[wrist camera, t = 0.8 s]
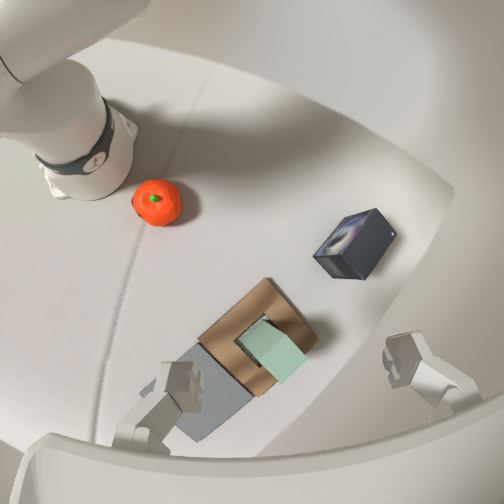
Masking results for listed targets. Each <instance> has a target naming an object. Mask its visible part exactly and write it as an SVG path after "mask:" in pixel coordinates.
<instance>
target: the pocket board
mask: <svg viewBox="0 0 504 504" xmlns="http://www.w3.org/2000/svg"><path fill="white" fill-rule="evenodd" d="M263 313H264V314H265V315H266V316H267V317H268V318H269V319H270V320H271V322H272V323H273V324H274V325H275V326H276V327H277V328H278V329H279V330H280V331H281V332H282V333H284V334H286V335H287V336H288V337H289V338H290V340H291V341H292V342H293V343H294V344H295V345H296V346H297V347H298V348H299V349H300V350H301V352H302V353H303V354H305V353H306V352H307V351H308V350H309V349H310V348H311V347H312V346H313V345H314V344H315V343H316V342H317V341H318V340H319V339H318V338H317V337H316V335H315V334H314V333H313V332H312V331H311V330H310V328H309V327H308V326H307V325H306V324H305V323H304V321H303V320H302V319H301V318H300V317H299V316H298V314H297V313H296V312H295V311H294V310H293V309H292V307H291V306H290V305H289V304H288V303H287V302H286V300H285V299H284V298H283V297H282V296H281V295H280V293H279V292H278V291H277V290H276V289H275V288H274V286H273V285H272V284H271V283H270V282H269V281H268V279H267V278H264V279H263V280H262V281H260V282H259V283H258V284H257V285H256V286H255V287H254V288H253V289H252V290H251V291H250V292H248V293H247V294H246V295H245V296H244V297H243V298H242V299H241V300H240V301H239V302H238V303H236V304H235V305H234V306H233V307H232V308H231V309H230V310H229V311H228V312H226V313H225V314H224V315H223V316H222V317H221V318H220V319H219V320H218V321H216V322H215V323H214V324H213V325H212V326H211V327H210V328H209V329H208V330H206V331H205V332H204V333H203V334H202V335H201V336H200V337H199V338H198V340H199V341H200V342H201V343H202V344H203V345H204V347H205V348H206V349H207V350H208V351H209V352H210V353H211V354H212V355H213V356H214V357H215V358H216V359H217V360H218V361H219V362H220V363H222V364H223V365H224V366H225V367H226V368H227V369H228V370H229V371H230V372H231V373H232V374H233V375H234V376H235V377H236V378H237V379H238V380H239V381H240V382H241V383H242V384H244V385H245V386H246V387H247V388H248V389H249V390H250V391H251V392H252V393H253V394H254V395H256V396H257V397H259V396H260V395H261V394H263V393H264V392H265V391H266V390H267V389H268V388H269V387H270V386H272V385H273V384H274V383H275V382H276V381H277V379H276V378H275V377H274V376H273V375H272V374H271V373H270V372H269V371H268V370H267V369H266V368H265V367H264V366H263V365H262V364H260V365H259V366H257V365H256V364H255V363H254V362H253V361H252V360H251V359H250V358H249V357H248V356H247V355H246V354H245V353H244V352H243V350H242V349H241V348H240V347H239V346H238V345H237V344H236V343H235V342H234V341H233V340H235V339H236V338H237V337H238V336H239V335H240V334H241V333H242V332H243V331H245V330H246V329H247V328H248V327H249V326H250V325H251V324H252V323H253V322H254V321H255V320H256V319H258V318H259V317H260V316H261V315H262V314H263Z"/></svg>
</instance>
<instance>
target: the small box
mask: <svg viewBox="0 0 504 504" xmlns="http://www.w3.org/2000/svg"><path fill="white" fill-rule="evenodd" d="M396 235H397V233H396V231H395V230H394V229H393V228H392V227H391V225H390V224H389V223H388V222H387V220H386V219H385V218H384V217H383V215H382V214H381V213H380V212H379V211H378V209H377V208H374V209H371V210H368V211H365V212H362V213H358V214H355V215H352V216H348V217H345V218H344V219H343V220H342V221H341V223H340V224H339V225H338V226H337V228H336V229H335V230H334V231H333V232H332V234H331V235H330V236H329V237H328V238H327V240H326V241H325V242H324V243H323V245H322V246H321V247H320V248H319V249H318V250H317V252H316V253H315V254H314V255H313V257H314V259H315V260H316V261H317V262H318V263H319V264H320V265H321V266H322V267H323V268H324V269H325V270H326V271H327V272H328V274H329V275H330V276H331V277H332V278H334V279H336V278H337V279H339V278H340V279H358V280H366V278H367V277H368V276H369V274H370V273H371V271H372V270H373V269H374V267H375V266H376V264H377V263H378V262H379V260H380V259H381V257H382V256H383V254H384V253H385V251H386V250H387V248H388V247H389V245H390V244H391V243H392V241H393V239H394V238H395V236H396Z"/></svg>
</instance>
